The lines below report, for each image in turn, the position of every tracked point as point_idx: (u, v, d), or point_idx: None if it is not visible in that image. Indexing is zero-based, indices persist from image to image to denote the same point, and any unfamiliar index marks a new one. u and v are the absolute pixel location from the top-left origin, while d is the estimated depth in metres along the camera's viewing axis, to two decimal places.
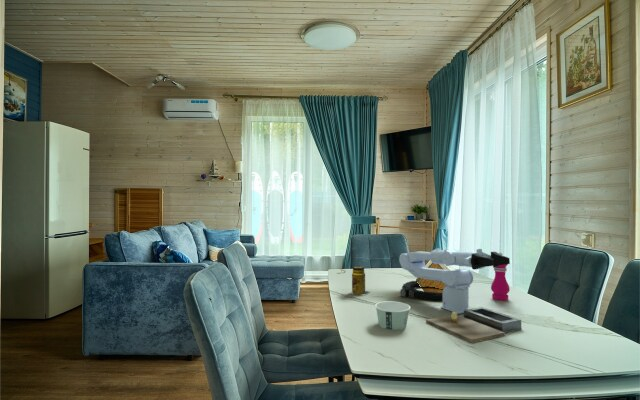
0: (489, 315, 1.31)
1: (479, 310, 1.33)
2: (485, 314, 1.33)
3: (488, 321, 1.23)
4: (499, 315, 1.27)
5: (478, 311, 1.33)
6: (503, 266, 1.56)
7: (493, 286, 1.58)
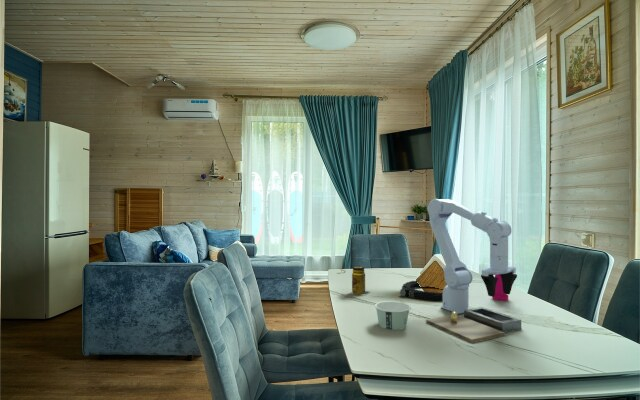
0: (489, 315, 1.31)
1: (479, 310, 1.33)
2: (485, 314, 1.33)
3: (488, 321, 1.23)
4: (499, 315, 1.27)
5: (478, 311, 1.33)
6: None
7: None
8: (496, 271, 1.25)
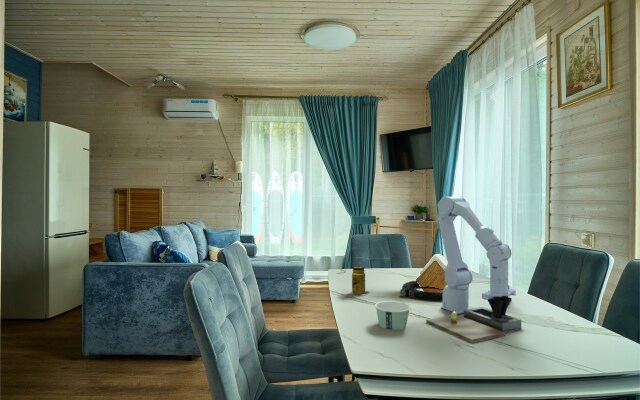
0: (489, 315, 1.31)
1: (479, 310, 1.33)
2: (485, 314, 1.33)
3: (488, 321, 1.23)
4: None
5: (478, 311, 1.33)
6: None
7: None
8: (496, 294, 1.25)
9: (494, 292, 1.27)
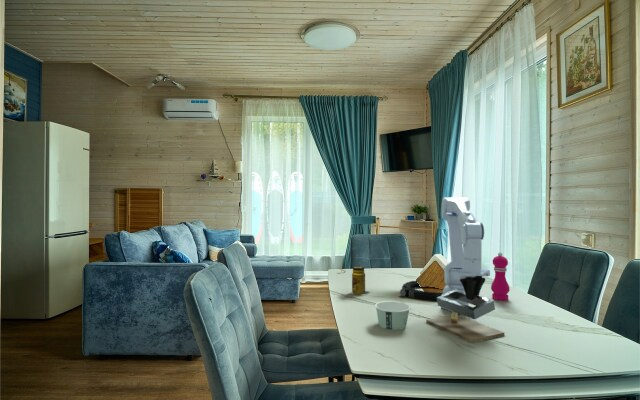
0: (463, 298, 1.26)
1: (452, 294, 1.28)
2: (459, 297, 1.27)
3: (460, 308, 1.17)
4: None
5: (451, 295, 1.28)
6: (503, 266, 1.56)
7: (493, 286, 1.58)
8: (468, 274, 1.20)
9: (467, 272, 1.21)
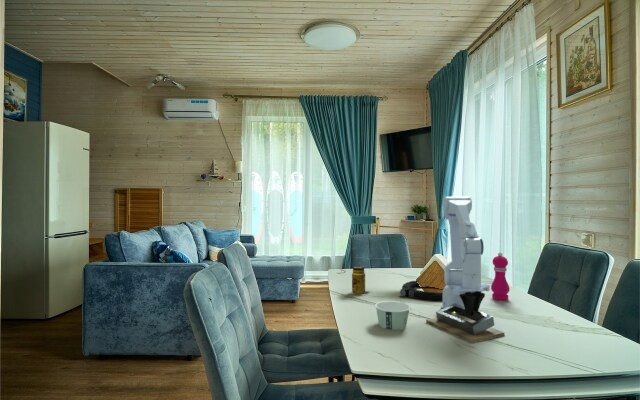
0: (462, 312, 1.26)
1: (452, 308, 1.28)
2: (459, 311, 1.27)
3: (459, 324, 1.17)
4: None
5: (451, 309, 1.28)
6: (503, 266, 1.56)
7: (493, 286, 1.58)
8: (468, 290, 1.20)
9: (466, 287, 1.21)
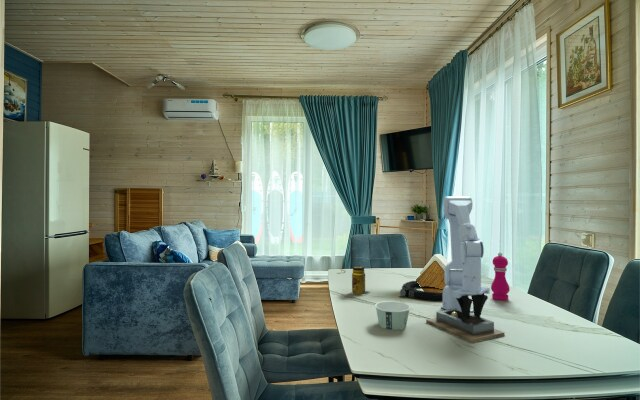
0: (462, 317, 1.26)
1: None
2: (458, 316, 1.27)
3: (459, 323, 1.17)
4: (472, 317, 1.22)
5: (451, 312, 1.28)
6: (503, 266, 1.56)
7: (493, 286, 1.58)
8: (468, 293, 1.20)
9: (466, 290, 1.21)
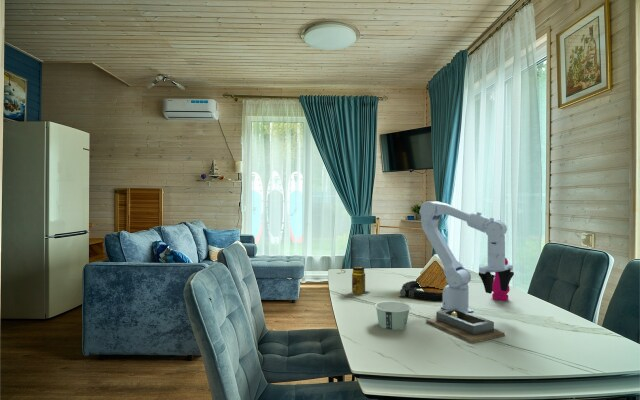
0: (462, 317, 1.26)
1: None
2: (458, 316, 1.27)
3: (459, 323, 1.17)
4: (472, 317, 1.22)
5: (451, 312, 1.28)
6: None
7: (493, 286, 1.58)
8: (493, 269, 1.29)
9: (491, 267, 1.31)
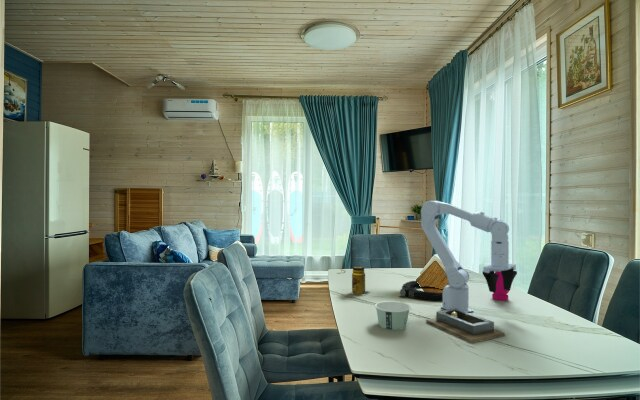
0: (462, 317, 1.26)
1: None
2: (458, 316, 1.27)
3: (459, 323, 1.17)
4: (472, 317, 1.22)
5: (451, 312, 1.28)
6: None
7: None
8: (497, 268, 1.31)
9: (495, 266, 1.33)
